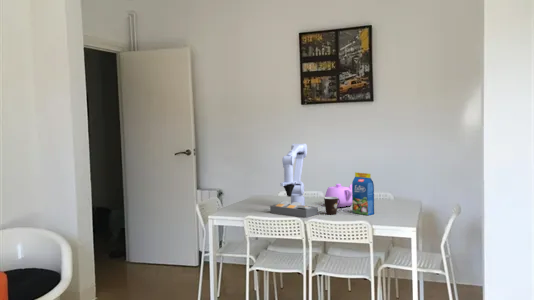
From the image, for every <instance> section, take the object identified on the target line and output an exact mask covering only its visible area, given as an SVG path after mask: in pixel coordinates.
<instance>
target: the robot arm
mask: <svg viewBox="0 0 534 300" xmlns="http://www.w3.org/2000/svg"><path fill="white" fill-rule="evenodd" d="M290 149H291V150H289V151H288V152H287V154H286V155H284V156H283V157H282V161H281V162H282V168H283V181H282V182H280V187H283V188H284V191H285V193H286V197H288V198H289V197H290V204H292V203H293V202H299V203H301V205H303V206H306V205H305V204H306V203H305V202H306V199H305V195H304V193H305V183H304V182H303V181H302V173H303V165H304V160H305V158H307V154H308V145H307V143H292V144H291V146H290ZM295 159H296V160H295ZM294 164H295V167H294Z"/></svg>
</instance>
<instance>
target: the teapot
mask: <svg viewBox="0 0 534 300" xmlns="http://www.w3.org/2000/svg"><path fill="white" fill-rule="evenodd" d="M325 197H338V199H339V200H340V203H339V200H338V203H339V205H338V206H337V209H340V207H341V208H344V207H346V206H348V207H349V206H351V207H352V183H350V185H349V186H343V185H342V183H336V184H335V185H334V186H329V187H327V189H326V192H325V195H324V198H325Z"/></svg>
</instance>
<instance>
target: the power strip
mask: <svg viewBox="0 0 534 300" xmlns="http://www.w3.org/2000/svg"><path fill="white" fill-rule="evenodd" d="M277 204H278V203H277ZM277 204H272V205H270V206H269V208H270V209H269V211H270V214H275V213H276V215H283V216H285V215H286V216H291V217H299V218H306V219H308V218H310V217H313V216H317V215H319V207H318V206H313V205H312V206H310V205H307V206H308V207H312V208H310V209H304V208H297V207H296V208H286V207H288V206H289V205H290V204H291V203H290V204H288V205H287V206H283V207H278V206H276V205H277ZM300 206H303V205H300Z"/></svg>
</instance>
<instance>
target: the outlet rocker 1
mask: <svg viewBox="0 0 534 300" xmlns="http://www.w3.org/2000/svg"><path fill="white" fill-rule="evenodd" d="M288 204H291V201H287V200H285V201H284V200H282V201H281V202H279V203H277V205H276V204H275V205H276V206H278V207H283V206H287V205H288Z"/></svg>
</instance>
